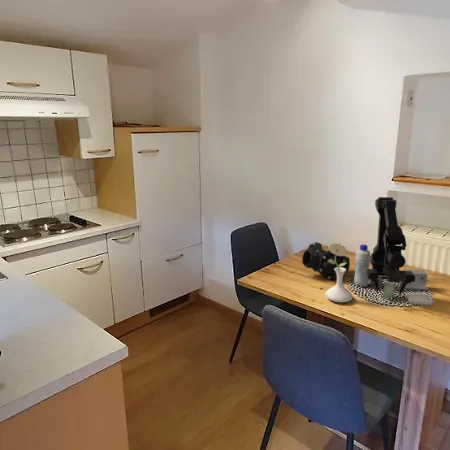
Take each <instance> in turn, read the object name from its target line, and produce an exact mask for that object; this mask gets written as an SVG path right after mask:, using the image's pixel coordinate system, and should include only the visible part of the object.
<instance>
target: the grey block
mask: <svg viewBox="0 0 450 450" xmlns="http://www.w3.org/2000/svg"><path fill="white" fill-rule="evenodd" d="M378 280H379V282H378V288H380V287H379V286H382V287H384V285H383V284H384V278H381V277H378ZM370 283H371V284H372V285H373V286H374V287H373V286H372V285H371V284H370ZM370 283H369V284H370V285H371V286H372V287H373V288H376V287H375V284H374V281H371V280H370Z"/></svg>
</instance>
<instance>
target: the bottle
mask: <svg viewBox="0 0 450 450" xmlns="http://www.w3.org/2000/svg"><path fill="white" fill-rule="evenodd" d="M368 247H369V246H368V245H367V244H364V243H363V244H360V246H359V249H357V250H356V252H355V269H354V270H355V271H354V278H353V283H354V285H355V286H356V287H360V288H362V287H363V288H365V287H367V286H368V284H369V280H370V279H368V277H367V270H368V269H370V264H371V263H370V259H371V251H370V250H368V249H369V248H368Z"/></svg>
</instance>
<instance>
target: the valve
mask: <svg viewBox="0 0 450 450" xmlns="http://www.w3.org/2000/svg"><path fill="white" fill-rule="evenodd" d="M335 255H336V254H333V253H332V252H331V251H330V250H329V249H328V250H325V249H323V247H322V244H321V242H317V241H315V242H313V243H311V244H309V245H307V249H306V250H304V251H303V254H302V257H301V258H302V259H301V261H302V265H303V266H304V267H305V269H312V270H313V272H317V273H319V274H320V276H322V277H323V278H324V279H327V280H332V279H334V278H337V274H336V271H335V270H334V268H336V267H337V265H338V267H342V268H345V269H346V271H345V273H344V275H345V274H346V273H347V272H349V270H350V257H349V256H346V255H343V256H337V255H336V263H337V265H336V263H335V264H332V263H330V262H327V261H328V260H330V259H332V260H333V261H335ZM346 262H347V263H346ZM341 263H346V264H345V265H343V266H339V265H340V264H341Z"/></svg>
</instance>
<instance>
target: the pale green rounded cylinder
mask: <svg viewBox="0 0 450 450" xmlns="http://www.w3.org/2000/svg"><path fill="white" fill-rule="evenodd" d="M383 284H384V285H383V295H382V296H384V297H385V299H387V298H392V299H393V298H394V295H395V283H394V282H388V281H387V282H384V283H383ZM384 297H383V298H384Z"/></svg>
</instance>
